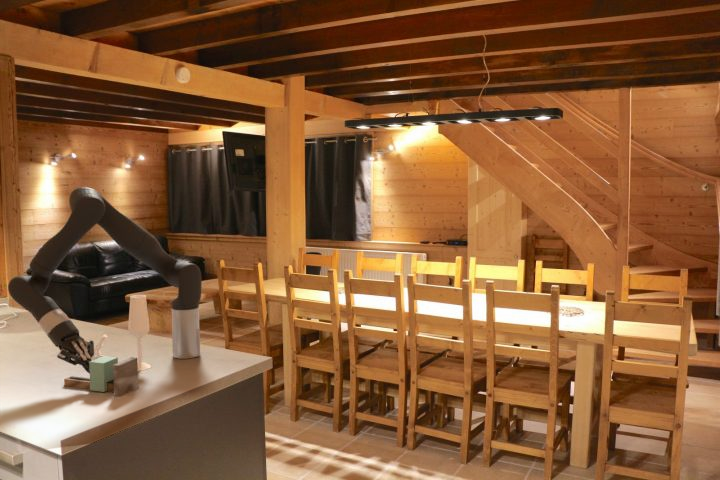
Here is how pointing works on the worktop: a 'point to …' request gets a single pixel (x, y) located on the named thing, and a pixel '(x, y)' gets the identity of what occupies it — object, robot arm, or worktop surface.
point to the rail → (123, 378)
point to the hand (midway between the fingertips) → (93, 371)
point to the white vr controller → (98, 348)
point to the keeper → (101, 372)
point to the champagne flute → (139, 324)
